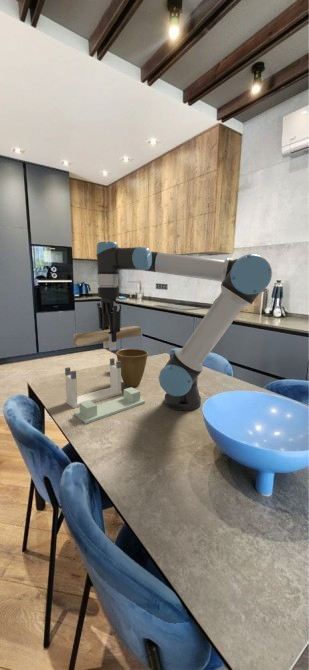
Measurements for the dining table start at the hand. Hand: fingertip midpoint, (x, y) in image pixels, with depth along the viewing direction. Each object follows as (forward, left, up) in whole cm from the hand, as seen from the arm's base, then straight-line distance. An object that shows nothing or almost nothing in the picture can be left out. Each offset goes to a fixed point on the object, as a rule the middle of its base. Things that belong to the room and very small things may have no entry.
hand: (109, 348), depth 107 cm
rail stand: (+13, 0, -24) cm, 27 cm away
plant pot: (+16, -22, -25) cm, 36 cm away
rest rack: (0, 0, -24) cm, 24 cm away
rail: (0, 0, +4) cm, 4 cm away
